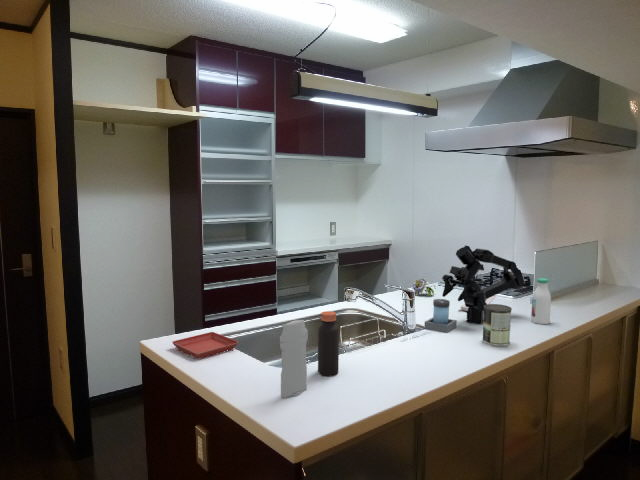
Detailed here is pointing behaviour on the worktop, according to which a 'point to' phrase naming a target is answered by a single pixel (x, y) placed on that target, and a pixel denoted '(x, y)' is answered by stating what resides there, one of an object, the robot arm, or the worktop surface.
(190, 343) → the plant saucer
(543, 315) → the milk bottle
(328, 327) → the vinegar
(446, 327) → the cartridge housing
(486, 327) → the coffee can
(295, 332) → the tall pale column
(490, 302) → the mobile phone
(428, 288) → the passion flower
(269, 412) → the worktop surface
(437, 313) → the blue-grey upright cylinder
